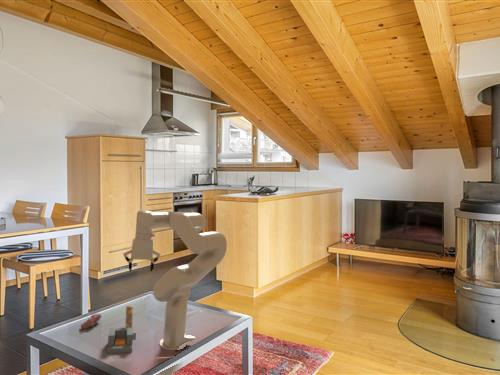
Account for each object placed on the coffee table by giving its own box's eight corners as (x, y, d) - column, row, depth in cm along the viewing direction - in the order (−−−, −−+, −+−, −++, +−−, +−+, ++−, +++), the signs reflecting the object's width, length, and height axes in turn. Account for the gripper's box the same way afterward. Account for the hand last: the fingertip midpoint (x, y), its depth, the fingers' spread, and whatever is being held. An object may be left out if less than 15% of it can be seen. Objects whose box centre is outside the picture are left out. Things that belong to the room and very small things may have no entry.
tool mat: (135, 334, 185) (135, 332, 185) (135, 340, 178) (135, 339, 178) (120, 334, 183) (120, 333, 183) (119, 341, 176) (119, 340, 176)
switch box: (132, 342, 176) (133, 327, 176) (131, 353, 167) (132, 337, 166) (108, 343, 173) (109, 328, 173) (106, 354, 164) (107, 338, 163)
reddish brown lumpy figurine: (86, 333, 185) (93, 321, 184) (78, 328, 185) (85, 316, 184) (98, 325, 194) (104, 314, 193) (91, 320, 195) (97, 308, 194)
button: (125, 343, 173) (125, 338, 172) (125, 348, 169) (125, 342, 168) (115, 344, 171) (115, 338, 171) (114, 348, 167) (115, 343, 167)
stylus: (131, 334, 182) (133, 305, 181) (131, 337, 179) (133, 307, 179) (124, 335, 181) (126, 305, 181) (124, 338, 179) (126, 308, 178)
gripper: (161, 235, 195) (158, 268, 196) (124, 233, 191) (122, 268, 192) (162, 238, 188) (159, 273, 189) (124, 236, 183) (121, 272, 184)
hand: (140, 270), depth 190 cm, fingers open, 9 cm apart
